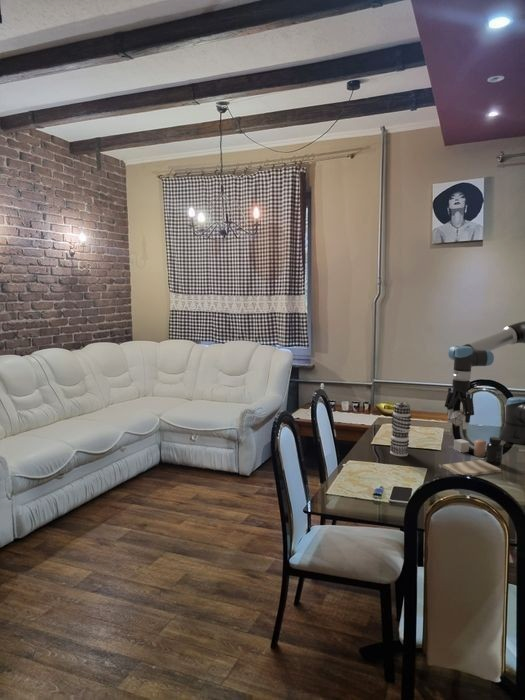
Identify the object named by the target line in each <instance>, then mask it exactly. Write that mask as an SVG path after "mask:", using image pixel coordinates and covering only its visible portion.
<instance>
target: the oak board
mask: <svg viewBox="0 0 525 700" xmlns="http://www.w3.org/2000/svg"><path fill="white" fill-rule="evenodd" d="M441 467H442V468H443V469H445V470H446V471H448V470H449V472H450V473H452V474H454V475H456V474H462V475H471V474H472V476H471V477H474V476H478V475H479V476H480V475H487V474H488V475H489V474H495V472H496V473H501V472H502V469H501V468H499V466H493V465H491V464H489V463H487V462H486V461H484V460H482V459H477V460H476V459H475V460H469V461H468V460H467V461H461V462H453V463H452V462H451V463H445V464H442V466H441Z"/></svg>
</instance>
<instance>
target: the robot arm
mask: <svg viewBox="0 0 525 700" xmlns="http://www.w3.org/2000/svg"><path fill="white" fill-rule="evenodd" d="M515 344H525V321H520V322H517V323H514V324H513V323H512V324H511V325H507V326H505V327H503V329H502V330H500V331H497V332H495V333H492V334H489V335H487V336H484V337H481V338H479V339H476V340H474V341H472V342H469V343H466V344H463V345H453V346H450V348H449V349H448V351H447V354H448V357H449V359H450V360H451V361H454V362H453V373H452V374H453V375H452V378H453V379H452V382H451V383H452V384H451V387H448V389H447V395H446V399H445V402H444V407H445V408H446V409H447V414H446V415H447V421H446V423H447V424H453V423H452V422H451V421H450V420H448V419H450V417H451V415H452V413H453V411H452V410H454V409H455V408H454V406H455V405H456V403H457V401H458V400H460V402H461V404H462V408H463V409H462V410H463V412H464V414H465V415H464V417H463V426H462V430H469V427H470V421H471V416H474V415H475V408H474V399H473V398H474V393H470V392H469V389H470V386H471V385H470V384H471V381H470V380H471V377H472V376H471V374H472V367H488V366H491V365H492V364H493V363H494V359H495V356H494V353H493V352H492V351H494V350H497V349H499V348H502V347H505V346H507V345H511V346H513V345H515ZM499 438H500V439H501V441H502V440H503V441H504V442H508V443H512V444H520V445H525V396H523V397H521V396H512V397H509V398H507V400H506V404H505V415H504V425H503V427H502V428H501V431H500V433H499Z"/></svg>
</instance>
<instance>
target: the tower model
mask: <svg viewBox="0 0 525 700" xmlns="http://www.w3.org/2000/svg"><path fill="white" fill-rule="evenodd" d="M411 408H412V406H411V405H410V404H409V403H408V402H405V401H398V402H396V403H394V404H393V412H392V414H391V430H392V433H391V438H390V448H389V450H390V451H389V453H390V455H393V456H396V457H407V456H408V455H409V449H410V448H409V445H410V444H409V443H410V440H409V437H410V436H409V434H410V433H409V432H411V431H410V429H411V427H410V426H411V425H412V424H411V423H410V422H412V420H411V419H412V416H411Z"/></svg>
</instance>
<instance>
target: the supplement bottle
mask: <svg viewBox="0 0 525 700" xmlns="http://www.w3.org/2000/svg"><path fill="white" fill-rule="evenodd" d="M501 443H502V439H501V438H500V437H496V436H494V437H493V436H491V437H489V442H487V443H486V450H485V462H487V463H489V464H491V465H493V466H495V467H499V466H501V465H502V464H503V452H504V451H503V450H504V447H503V445H502V444H501Z"/></svg>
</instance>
